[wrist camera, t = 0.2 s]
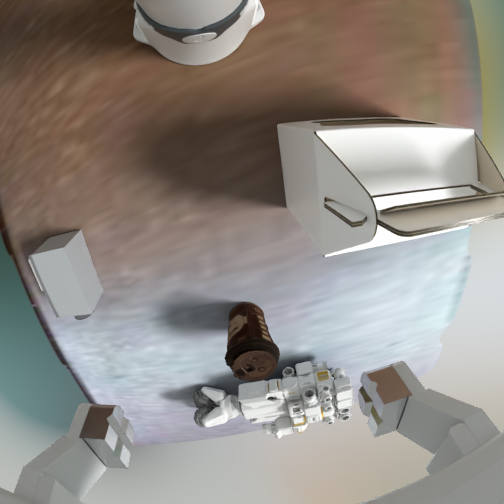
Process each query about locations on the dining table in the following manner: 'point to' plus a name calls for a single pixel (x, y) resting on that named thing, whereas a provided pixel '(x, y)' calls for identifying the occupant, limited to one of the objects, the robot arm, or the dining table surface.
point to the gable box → (385, 180)
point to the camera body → (67, 275)
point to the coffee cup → (250, 344)
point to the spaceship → (282, 400)
